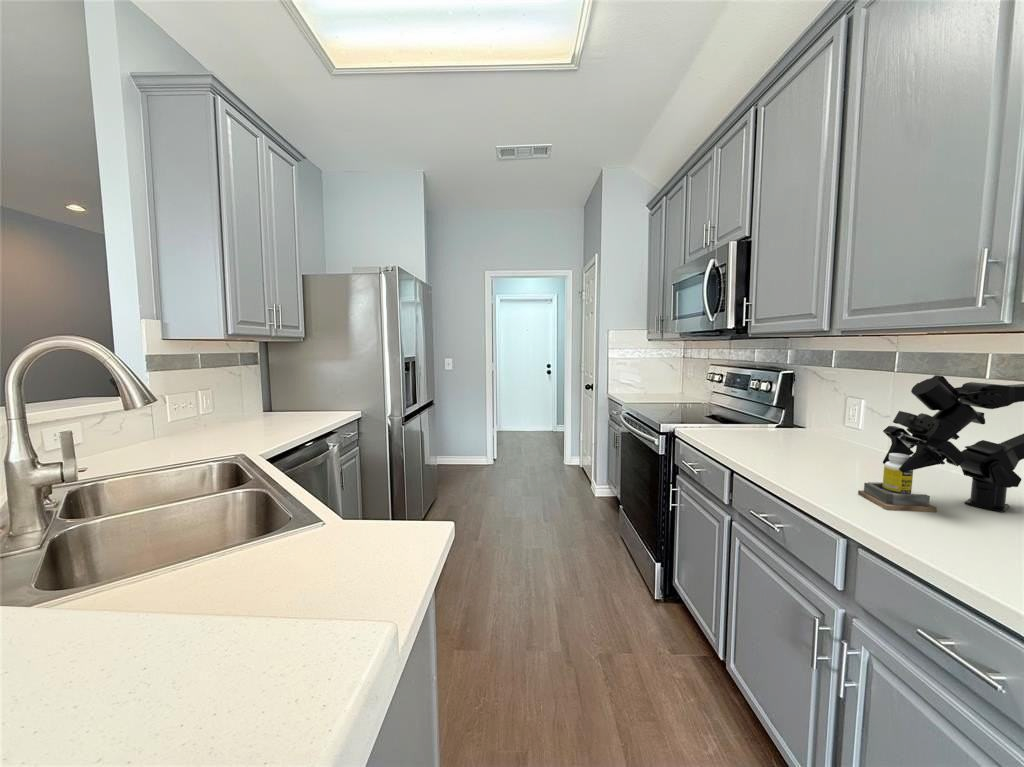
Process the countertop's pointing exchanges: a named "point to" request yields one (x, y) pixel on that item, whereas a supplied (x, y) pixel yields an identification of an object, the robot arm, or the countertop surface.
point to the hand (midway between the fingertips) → (892, 467)
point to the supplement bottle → (897, 475)
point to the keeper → (895, 499)
